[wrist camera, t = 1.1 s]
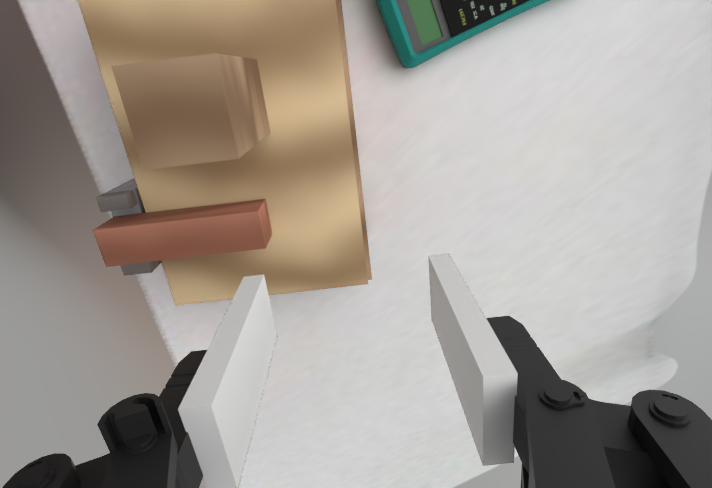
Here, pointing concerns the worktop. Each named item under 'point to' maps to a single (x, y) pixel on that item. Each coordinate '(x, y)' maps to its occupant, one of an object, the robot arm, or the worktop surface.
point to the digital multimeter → (442, 23)
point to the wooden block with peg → (238, 131)
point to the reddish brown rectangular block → (184, 232)
